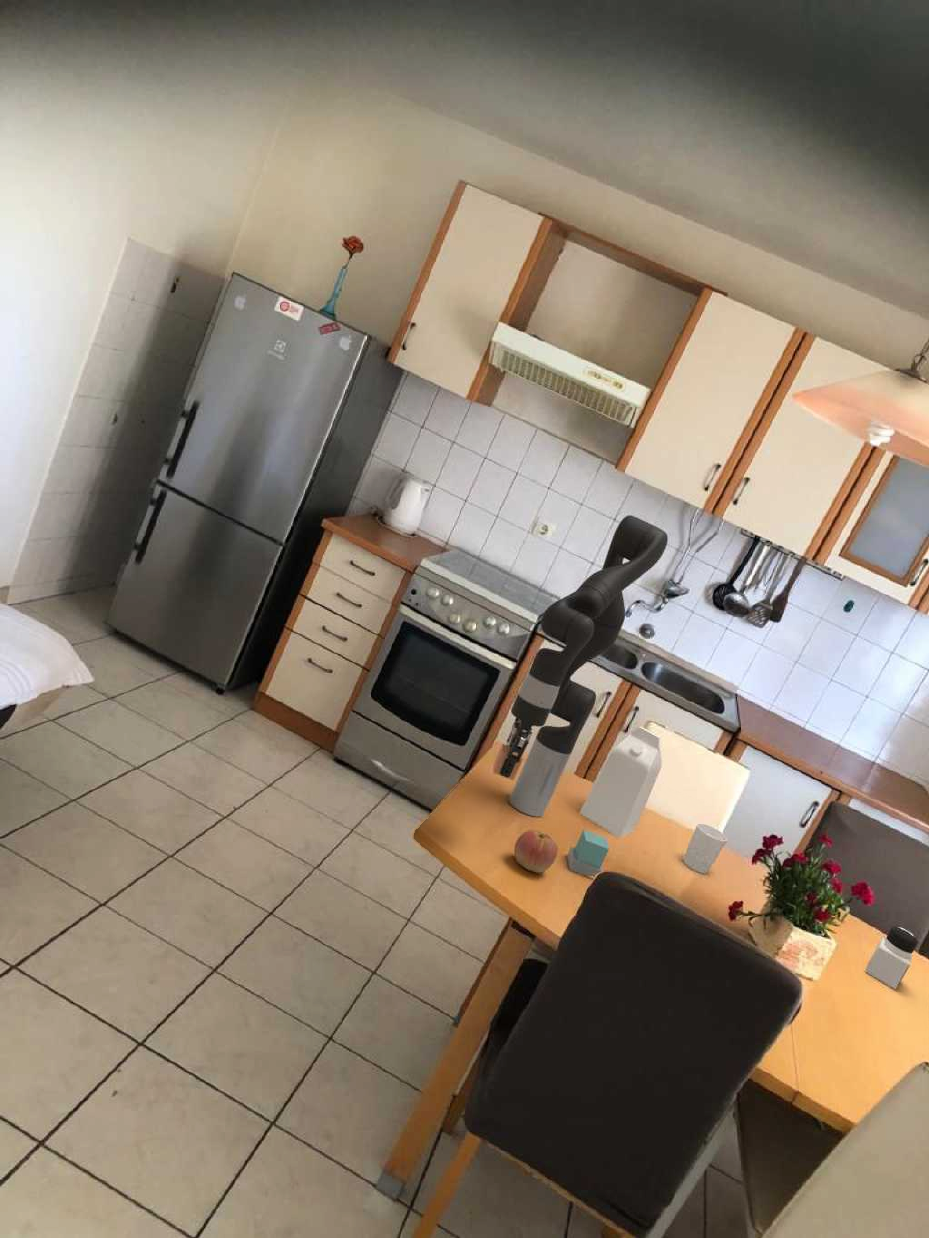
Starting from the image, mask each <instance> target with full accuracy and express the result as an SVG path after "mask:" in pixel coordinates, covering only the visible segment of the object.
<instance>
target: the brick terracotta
mask: <svg viewBox="0 0 929 1238" xmlns="http://www.w3.org/2000/svg"><path fill="white" fill-rule="evenodd" d="M508 750H509V747H508V746H506V744H503V743H502V744H501V747H500V749H499V751H498V754H497V756H496V758H495V761H494V763H493V770H492V772H493V773H494V774H496V775H498V776H500V777H503V778H506V779H508V780H510V781H514V780H515V778H516V776H517V773H518V771H519V769H520V767H521V765H522V763H523V759H524V758H523V755H522V756H521V758H520V761H519V762H518V763H515V766H514V768H513V770H512V773H511V775H510V777H508V778H507V777H504V776H502V775H500V770H501V768H502V765H503V763H504V761H505V759H506V754H507V753H508ZM512 754H513V755H515V756H517V753H516V752H513V753H512Z"/></svg>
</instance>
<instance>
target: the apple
mask: <svg viewBox="0 0 929 1238" xmlns="http://www.w3.org/2000/svg"><path fill="white" fill-rule="evenodd" d="M514 844H515V845H514V849H513V851H514V858H515V860H516V862H517V863H518V864H519V865H520V866H521V867H523V868H524V869H526V870H528V871H531V872H533V873H537V874H538V873H540V874H541V873H543V872H545V871H547V870H548V869H550V867H552V866H553V864H554V863H555V861H556V859H557V857H558V851H559V850H558V849H559V848H558V843H557V841H556V839H555V838H554V837H553V836H552V835H550V834H549V833H547V832H544V831H543V830H539V829H529V830H526V831H524V832H523V833H521V834H520V835H519V836H518V838H517V839H516V841H515V843H514Z"/></svg>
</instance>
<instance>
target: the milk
mask: <svg viewBox="0 0 929 1238" xmlns="http://www.w3.org/2000/svg"><path fill="white" fill-rule="evenodd" d="M661 738H662V737H661V736H659V735H657V734H655V733H653V732H651V730H648V729H646V728H644V727H643V726H638V727H636V728H635V729H634V730H633V731H632V732H630V734H628V735H627V736H626V737H625V738H624V739H623V740H622V741H621V742H620V743H618V744H617V745H616V746H615V747H614V748H613V750H612V751H611V753H610V754H609V756H608V758H607V760H606V762H605V763H604V765H603V768H602V769H601V771H600V773H599V775H598V777H597V779H596V781H595V783H594V784H593V786H592V789H591V790H590V791H589V794H588V796H587V797H586V800H585V801H584V803H583V805H582V807H581V809H580V811H579V812H578V813H579V814H580V815H582V816H583V817H584V818H587V819H589V820H590V821H591V822H594V824H596V825H598V826H600V828H603V829H605V830H606V831H607V832H609V833H611V834H612V835H614V836H615V837H617V838H619V839H620V838H623V837H624V836H627V835H628V834H629V833H631V832H633V831H635V830H636V828H637V827H638V825H639V823H640V820H641V817H642V814H643V812H644V810H645V807H646V804H647V803H648V801H649V797H650V796H651V793H652V791H653V789H654V785H655V784H656V781H657V779H658V777H659V774H660V771H661V769H662V766H663V765H662V764H663V761H662V752H661Z"/></svg>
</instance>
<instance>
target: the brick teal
mask: <svg viewBox="0 0 929 1238" xmlns="http://www.w3.org/2000/svg"><path fill="white" fill-rule="evenodd" d="M574 847H575V854H576V860H578V861H581V862H583V863H586V864H588V865H591V866H593V867H596V868H599V869H600V867H601V865H602V866H603V863H604V861H605V859H606V857H607V854H608V853H609V850H610V847H609V843H608V839H607V838H606V837H604V836H602V835H599V834H596V833H593V832H592V831H591V832H590V831H589V830H586V829H583V830H582V832H581V835H580V836H579V838H578V841H577V842H576V845H575V846H574Z"/></svg>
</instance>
